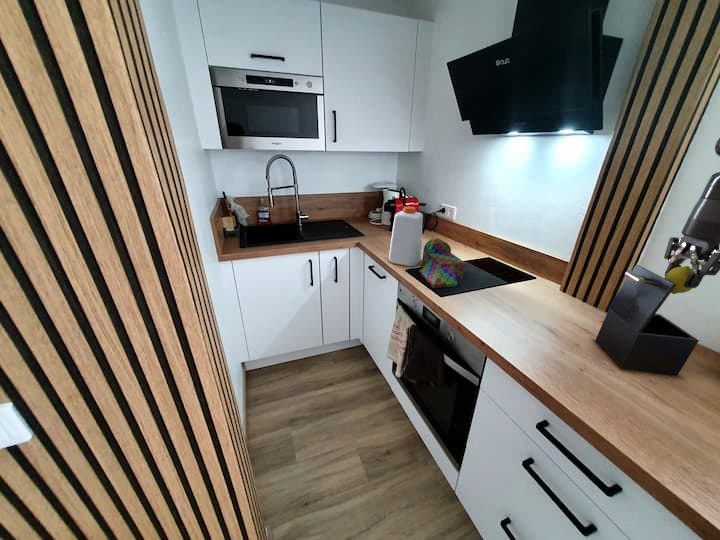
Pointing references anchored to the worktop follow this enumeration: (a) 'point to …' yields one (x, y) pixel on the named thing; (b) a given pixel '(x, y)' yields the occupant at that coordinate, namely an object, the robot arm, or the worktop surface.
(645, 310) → the bin lid
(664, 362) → the bin
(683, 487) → the worktop surface
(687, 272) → the lemon
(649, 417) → the worktop surface
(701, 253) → the robot arm
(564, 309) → the worktop surface
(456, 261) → the rainbow lumpy figurine
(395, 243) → the plastic bottle
